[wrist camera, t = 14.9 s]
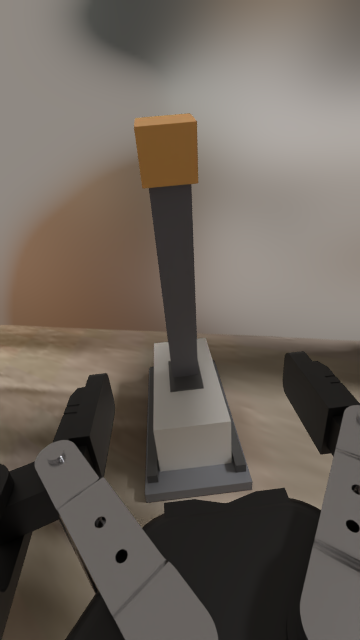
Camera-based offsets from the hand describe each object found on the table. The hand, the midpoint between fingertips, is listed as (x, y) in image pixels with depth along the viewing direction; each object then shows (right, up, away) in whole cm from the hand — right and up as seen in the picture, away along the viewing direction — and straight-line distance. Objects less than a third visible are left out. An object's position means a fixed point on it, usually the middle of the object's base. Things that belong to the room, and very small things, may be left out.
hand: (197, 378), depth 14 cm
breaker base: (0, -8, +20) cm, 22 cm away
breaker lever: (0, -3, +17) cm, 17 cm away
